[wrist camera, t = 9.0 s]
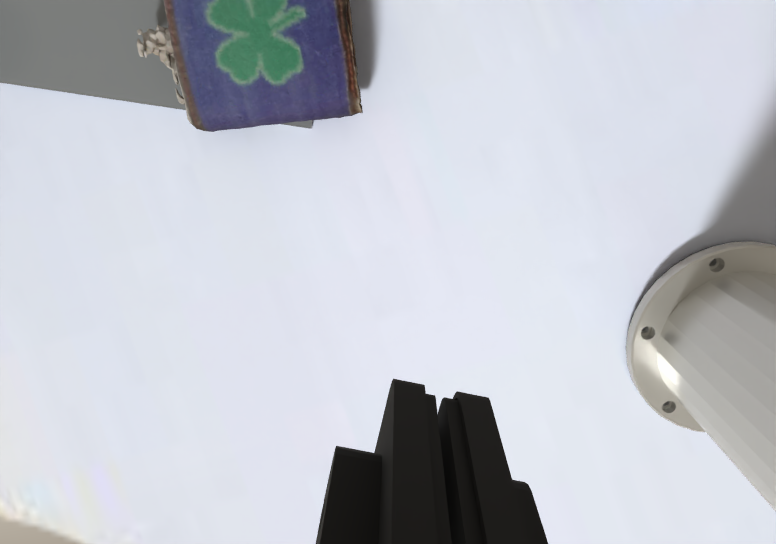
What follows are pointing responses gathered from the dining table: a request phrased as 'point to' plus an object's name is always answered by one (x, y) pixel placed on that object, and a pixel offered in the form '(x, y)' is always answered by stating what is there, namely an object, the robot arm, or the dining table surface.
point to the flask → (258, 60)
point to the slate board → (87, 49)
